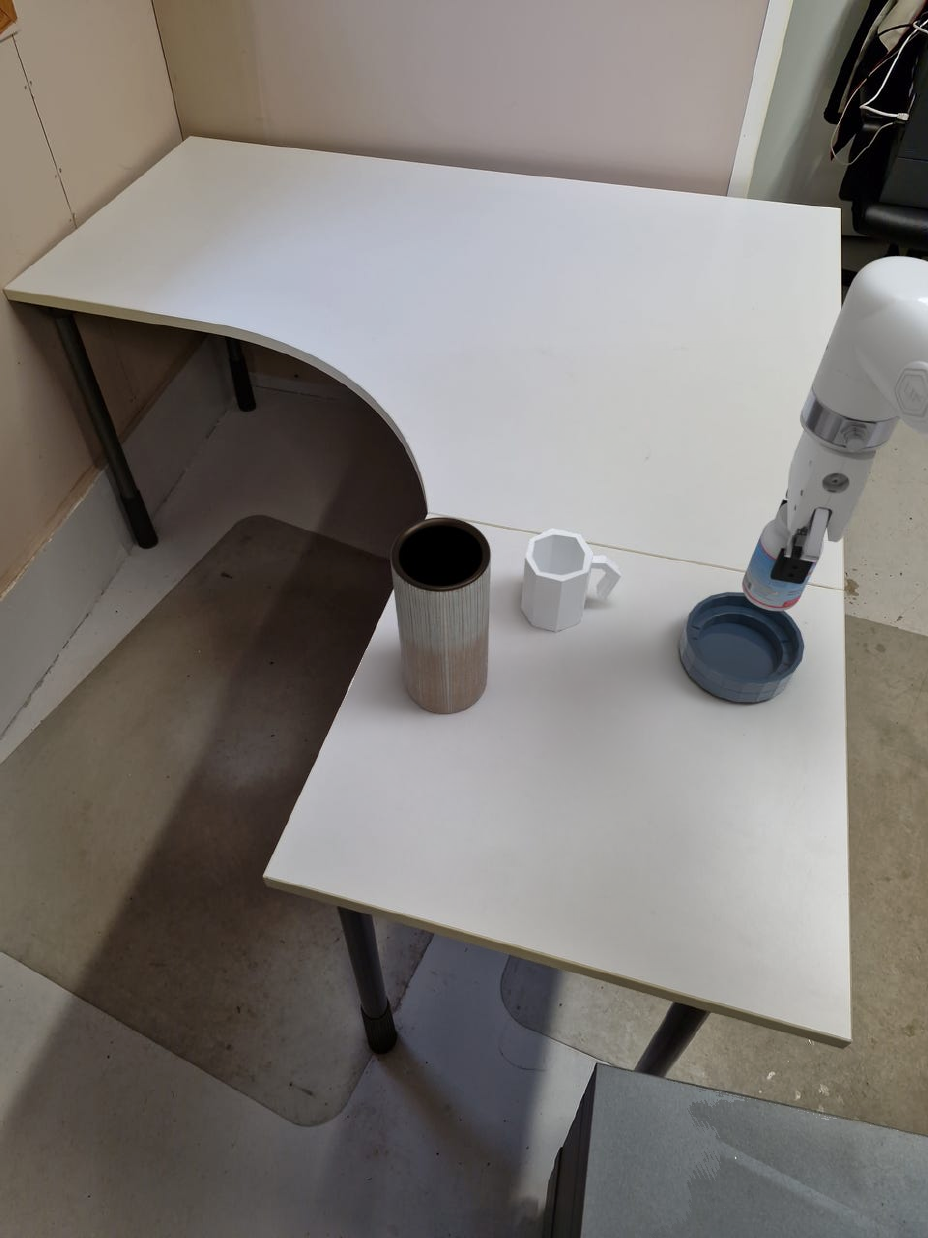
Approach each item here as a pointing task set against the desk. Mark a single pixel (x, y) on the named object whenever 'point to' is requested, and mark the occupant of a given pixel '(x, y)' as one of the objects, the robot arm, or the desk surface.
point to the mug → (561, 579)
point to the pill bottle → (763, 559)
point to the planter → (443, 611)
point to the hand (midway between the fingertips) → (787, 553)
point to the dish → (740, 648)
